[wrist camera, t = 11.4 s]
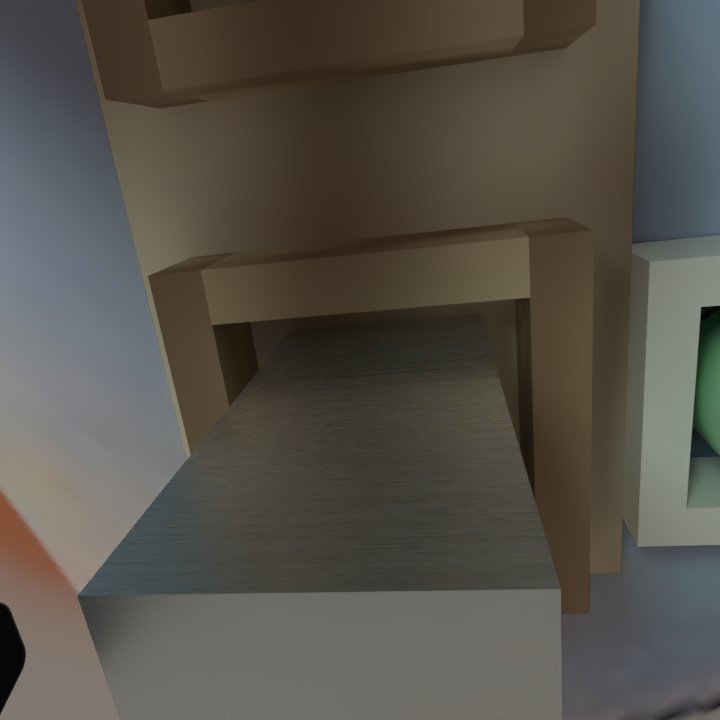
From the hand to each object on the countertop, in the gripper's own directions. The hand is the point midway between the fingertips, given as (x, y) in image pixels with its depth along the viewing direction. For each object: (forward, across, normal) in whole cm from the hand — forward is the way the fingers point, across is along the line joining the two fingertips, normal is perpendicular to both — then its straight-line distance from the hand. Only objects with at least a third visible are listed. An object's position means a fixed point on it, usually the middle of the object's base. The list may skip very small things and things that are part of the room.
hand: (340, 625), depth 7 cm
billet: (+6, 0, 0) cm, 6 cm away
